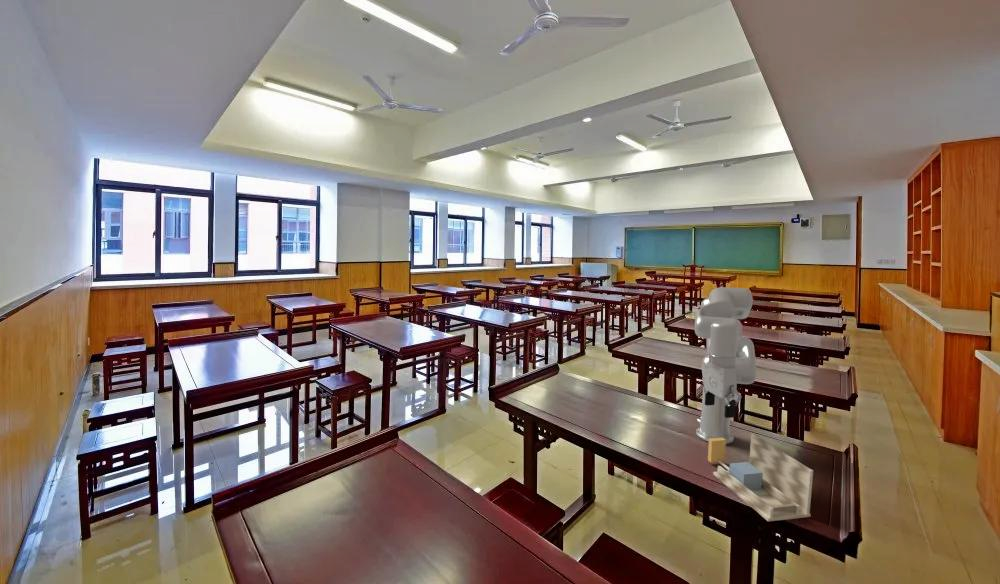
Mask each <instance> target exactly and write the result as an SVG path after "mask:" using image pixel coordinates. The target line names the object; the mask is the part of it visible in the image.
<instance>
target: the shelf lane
mask: <svg viewBox="0 0 1000 584" xmlns="http://www.w3.org/2000/svg"><path fill="white" fill-rule="evenodd" d="M749 444H750V445H749V457H748V458H749V462H748V463H750V464H751V465H753V466H754V467H755V468H757V469H758V470H760V471H761V472H762V473H763V476H762V489H754V490H750V489H748V488H747V487H746V486H745V485H743V484H742V483H741V482H740V481H738V480H737V479H736V478H735V477H733V476H732V475H731V474H730V473H729V470H727V469H726V468H725V467H723V466H721V465H717V469H716V470H717V471H713V472H712V475H713V476H715V477H716V478H717V479H718V480H719V481H720V482H721V483H723V484H724V486H726V487H727V488H728V489H729V490H731V491H732V492H733V493H734V494H735V495H737V497H739V498H740V499H741V500H742V501H744V503H745V504H747V505H749V507H751V508H752V510H754V511H756V513H758V515H760V516H761V517H762V518H763V519H764V520H766V521H767V522H775V521H784V520H793V519H800V518H801V519H802V518H809V517H810V518H811V517H812V516H811V515H812V514H811V513H810V512H811V499H812V490H813V476H814V470H813V469H811V468H809V467H808V466H806V465H804V464H803V463H801V462H800V461H798V460H797V459H795V458H794V457H792V456H790V455H789V454H787V453H786V452H784V451H782V450H780V449H779V448H778V447H776V446H774V445H772V444H770V443H769V442H768V441H766V440H764V439H762V438H761V437H759V436H758V435H756V434H754V433H751V434H750V443H749Z"/></svg>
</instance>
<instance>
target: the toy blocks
mask: <svg viewBox="0 0 1000 584" xmlns="http://www.w3.org/2000/svg"><path fill="white" fill-rule="evenodd" d="M726 446H727V444H726V440H725V439H724V438H712V439H709V442H708V448H707V461H708V462H709V463H719V464H720V466H721V465H722V466H721V467H723V468H724V469H725V470H726V471H727V470H729V473H730V474H731V475H732V476H733V477H735V478H736V479H737V480H738V481H740V482H741V483H742V484H743V485H745V486H746V487H747V488H748V489H750V490H754V489H762V476H763V473H762V472H761V471H760V470H758V469H757V468H755V467H754V466H753V465H751V464H750V463H749V462H748V461H744V462H743V461H742V462H732V463H731V462H730V463H729V466H728V465H727V464H725V463H724V462H725V461H726V448H727V447H726Z"/></svg>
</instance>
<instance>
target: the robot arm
mask: <svg viewBox="0 0 1000 584" xmlns="http://www.w3.org/2000/svg"><path fill="white" fill-rule="evenodd" d="M753 298H754V297H753V294H752V291H750V290H749V289H748V288H746V287H729V286H728V287H726V286H725V287H724V286H721V287H716V288H714V289H712V290H711V291H710V292H709V295H708V297H707V298H705V299H703V300H702V301H701V303H700V308H699V309H698V310H697V311H696V314H695V318H694V327H693V329H694V333H695V335H696V336H697V337H698V338H701V339H706V352H707V355H705V356H704V357H703V358H702V360H701V373H702V379H701V380H702V401H701V416H700V418H697V419H696V421H697V423H698V424H699V427H698V428H696V429H695V435H696V436H697V437H698V438H700V439H701V440H703V441H706V442H708V443H709V439H712V438H724V439H725V440H726V445H729V444H731V443H733V442H734V439H735V438H734V435H733V434H732V433H731V432H730V428H731V427H730V426H731V418H736V417H735V416H736V407H737V406H738V404H739V403H740V401H741V399H742V395H741V394H740V393H739V391H738V390H737V385H738V384H740V385H752V384H753V383H755V381H756V378H757V363H756V354H755V351H756V350H755V345H754V342H753V341H752V339H750V338H749V337H746V336H742V335H743V327H744V326H743V324H742V323H741V320H744V319H747V318H748V317H749V315H750V312H751V309H752V307H753V303H754V302H753V301H754V300H753Z"/></svg>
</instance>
